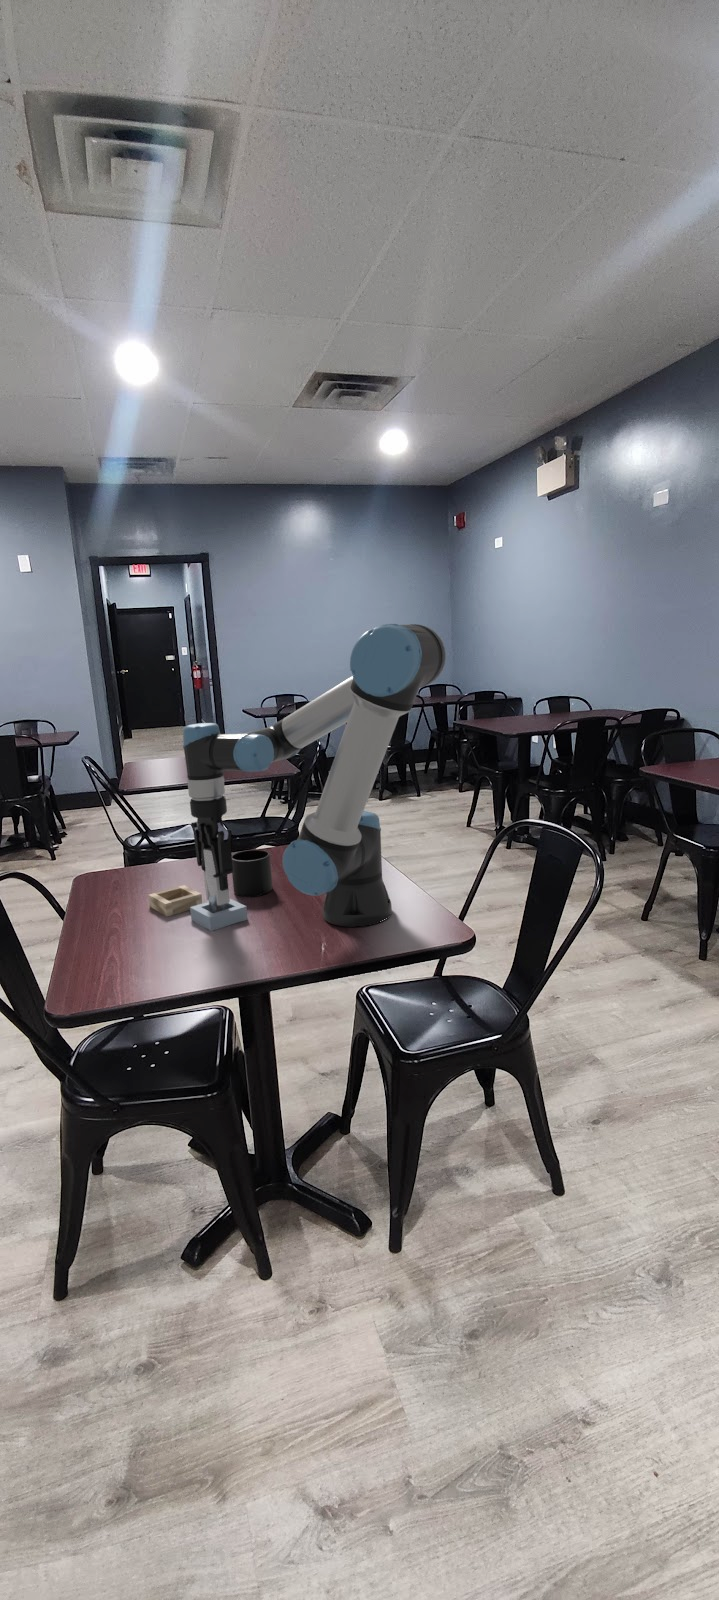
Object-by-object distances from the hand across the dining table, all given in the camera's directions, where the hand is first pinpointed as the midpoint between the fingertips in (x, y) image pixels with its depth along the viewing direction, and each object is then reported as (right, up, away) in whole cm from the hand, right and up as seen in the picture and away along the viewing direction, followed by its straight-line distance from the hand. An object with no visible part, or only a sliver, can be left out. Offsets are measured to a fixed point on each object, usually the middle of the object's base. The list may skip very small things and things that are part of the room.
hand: (218, 900), depth 158 cm
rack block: (-12, -3, +11) cm, 16 cm away
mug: (+5, 0, +20) cm, 21 cm away
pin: (0, -4, +1) cm, 4 cm away
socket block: (0, -4, +1) cm, 4 cm away
